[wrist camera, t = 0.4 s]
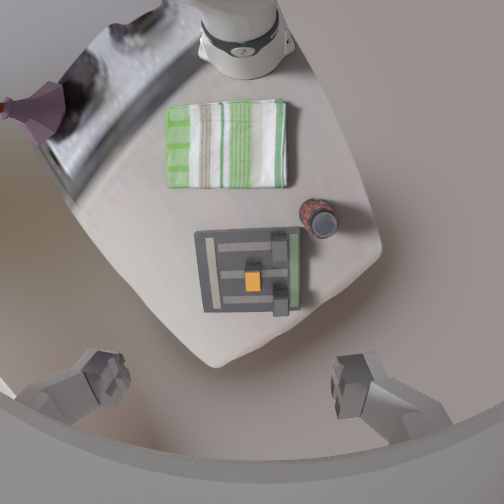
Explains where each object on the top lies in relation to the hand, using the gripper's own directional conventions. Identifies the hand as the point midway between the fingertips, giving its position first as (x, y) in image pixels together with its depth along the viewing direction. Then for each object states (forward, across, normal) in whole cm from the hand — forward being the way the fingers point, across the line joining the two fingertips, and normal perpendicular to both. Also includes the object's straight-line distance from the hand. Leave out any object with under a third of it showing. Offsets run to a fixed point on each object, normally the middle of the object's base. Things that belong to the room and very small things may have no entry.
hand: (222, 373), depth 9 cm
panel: (+45, +3, +12) cm, 47 cm away
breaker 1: (+42, -3, +7) cm, 43 cm away
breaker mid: (+43, +2, +12) cm, 44 cm away
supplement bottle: (+45, -10, +1) cm, 46 cm away
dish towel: (+45, +6, -13) cm, 48 cm away
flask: (+45, +49, -29) cm, 72 cm away
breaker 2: (+43, -3, +18) cm, 46 cm away
